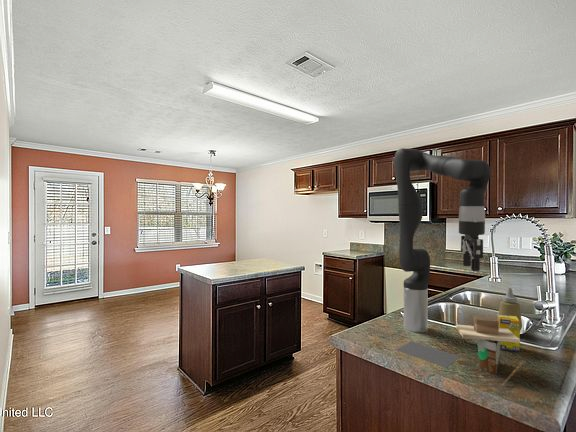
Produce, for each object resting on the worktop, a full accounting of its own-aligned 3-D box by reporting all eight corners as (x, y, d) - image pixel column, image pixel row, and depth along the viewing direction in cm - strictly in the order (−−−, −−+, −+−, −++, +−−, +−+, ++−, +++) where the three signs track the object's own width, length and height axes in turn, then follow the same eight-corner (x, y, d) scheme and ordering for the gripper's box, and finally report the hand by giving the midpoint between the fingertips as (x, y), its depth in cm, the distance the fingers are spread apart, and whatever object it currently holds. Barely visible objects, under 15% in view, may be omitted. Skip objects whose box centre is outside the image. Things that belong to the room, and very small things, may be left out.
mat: (411, 342, 117) (411, 341, 117) (460, 358, 104) (460, 356, 104) (395, 350, 110) (395, 349, 110) (446, 369, 97) (446, 367, 97)
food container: (478, 357, 104) (478, 327, 104) (500, 362, 101) (500, 331, 100) (471, 371, 95) (471, 338, 95) (495, 378, 91) (495, 344, 91)
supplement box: (499, 349, 110) (499, 318, 110) (496, 343, 116) (496, 313, 116) (520, 352, 108) (520, 321, 108) (516, 346, 113) (516, 316, 113)
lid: (455, 327, 104) (455, 312, 104) (507, 331, 100) (507, 316, 100) (463, 337, 96) (463, 321, 96) (520, 342, 92) (520, 325, 92)
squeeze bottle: (495, 332, 126) (495, 288, 126) (500, 327, 131) (500, 284, 131) (520, 338, 120) (520, 291, 120) (524, 332, 126) (523, 287, 126)
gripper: (453, 219, 112) (452, 264, 113) (466, 220, 99) (465, 272, 99) (476, 219, 111) (475, 265, 111) (492, 220, 97) (492, 273, 97)
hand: (470, 268), depth 105 cm, fingers open, 8 cm apart
